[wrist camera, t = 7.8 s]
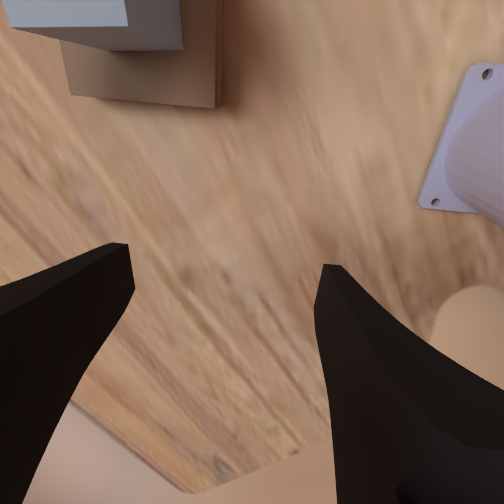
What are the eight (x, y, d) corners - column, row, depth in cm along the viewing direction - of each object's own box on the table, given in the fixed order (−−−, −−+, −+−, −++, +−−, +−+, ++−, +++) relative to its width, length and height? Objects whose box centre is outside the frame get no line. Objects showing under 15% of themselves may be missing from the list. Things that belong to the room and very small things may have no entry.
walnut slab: (227, -82, 14) (217, -113, 12) (222, 105, 18) (214, 108, 16) (64, -94, 14) (24, -126, 12) (95, 93, 18) (70, 95, 16)
